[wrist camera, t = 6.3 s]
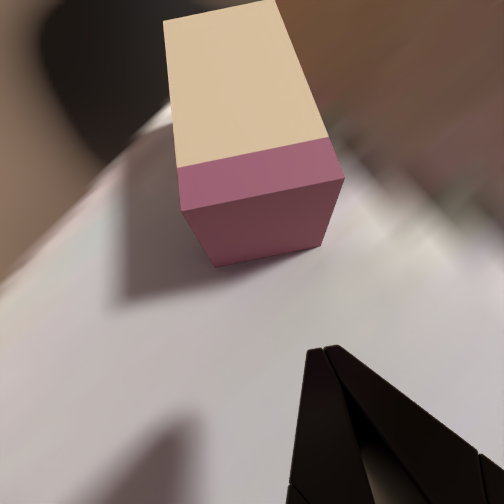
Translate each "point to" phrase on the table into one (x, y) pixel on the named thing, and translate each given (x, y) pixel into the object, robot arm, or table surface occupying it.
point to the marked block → (247, 136)
